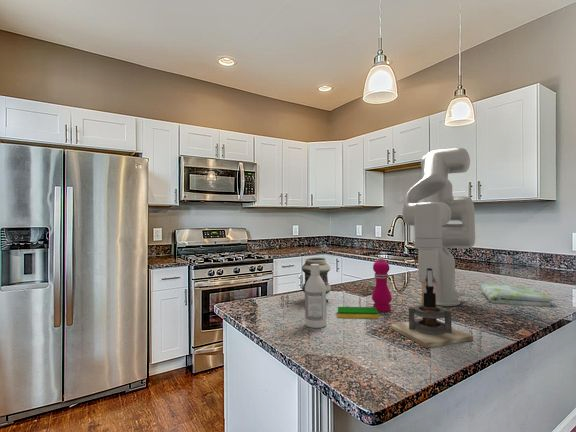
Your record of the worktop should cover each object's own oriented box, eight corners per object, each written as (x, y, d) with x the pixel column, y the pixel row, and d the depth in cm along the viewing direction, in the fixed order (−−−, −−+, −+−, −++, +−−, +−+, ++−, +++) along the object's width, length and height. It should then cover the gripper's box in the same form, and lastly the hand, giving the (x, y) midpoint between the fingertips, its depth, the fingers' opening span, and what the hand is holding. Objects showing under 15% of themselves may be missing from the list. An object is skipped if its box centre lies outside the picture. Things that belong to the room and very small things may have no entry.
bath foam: (313, 320, 112) (312, 262, 112) (330, 324, 108) (329, 263, 108) (301, 325, 107) (300, 264, 107) (318, 330, 102) (317, 266, 102)
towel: (554, 308, 122) (554, 294, 122) (489, 304, 129) (489, 291, 129) (536, 296, 139) (535, 284, 139) (479, 293, 146) (479, 282, 146)
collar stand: (432, 322, 107) (432, 299, 107) (473, 340, 92) (472, 313, 92) (390, 328, 103) (390, 304, 103) (425, 347, 87) (425, 319, 87)
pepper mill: (392, 312, 119) (391, 257, 119) (372, 311, 121) (371, 257, 121) (390, 306, 126) (389, 255, 126) (371, 306, 128) (370, 255, 128)
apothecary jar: (298, 304, 133) (297, 260, 133) (307, 297, 144) (306, 256, 144) (326, 306, 128) (326, 261, 128) (334, 299, 140) (333, 257, 139)
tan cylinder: (430, 323, 100) (429, 271, 100) (440, 328, 96) (439, 274, 96) (419, 325, 99) (418, 272, 99) (428, 330, 95) (427, 275, 95)
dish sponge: (337, 312, 122) (337, 306, 122) (375, 313, 120) (375, 306, 120) (338, 318, 114) (338, 312, 114) (378, 319, 113) (378, 312, 113)
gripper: (414, 241, 106) (415, 297, 106) (415, 246, 91) (416, 311, 91) (439, 241, 104) (440, 298, 104) (444, 246, 88) (446, 314, 88)
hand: (429, 304), depth 97 cm, fingers closed on tan cylinder, 3 cm apart
